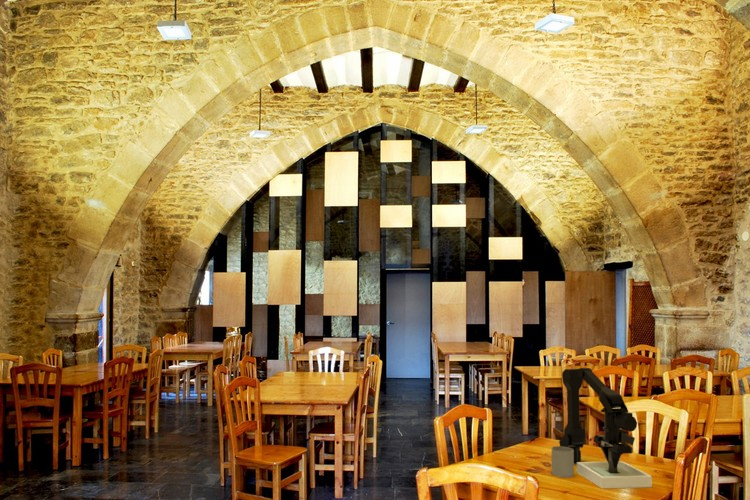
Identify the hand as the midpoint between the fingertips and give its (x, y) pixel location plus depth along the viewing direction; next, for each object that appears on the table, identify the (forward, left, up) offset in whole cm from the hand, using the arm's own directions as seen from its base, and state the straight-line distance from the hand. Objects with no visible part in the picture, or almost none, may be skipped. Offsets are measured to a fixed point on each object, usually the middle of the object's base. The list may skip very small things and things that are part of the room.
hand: (612, 466), depth 233 cm
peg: (0, 0, -2) cm, 3 cm away
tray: (0, 0, -5) cm, 5 cm away
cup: (-17, +8, -5) cm, 19 cm away
